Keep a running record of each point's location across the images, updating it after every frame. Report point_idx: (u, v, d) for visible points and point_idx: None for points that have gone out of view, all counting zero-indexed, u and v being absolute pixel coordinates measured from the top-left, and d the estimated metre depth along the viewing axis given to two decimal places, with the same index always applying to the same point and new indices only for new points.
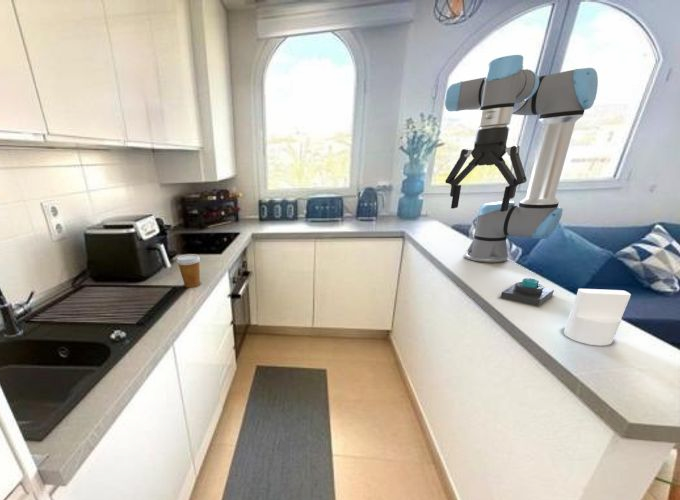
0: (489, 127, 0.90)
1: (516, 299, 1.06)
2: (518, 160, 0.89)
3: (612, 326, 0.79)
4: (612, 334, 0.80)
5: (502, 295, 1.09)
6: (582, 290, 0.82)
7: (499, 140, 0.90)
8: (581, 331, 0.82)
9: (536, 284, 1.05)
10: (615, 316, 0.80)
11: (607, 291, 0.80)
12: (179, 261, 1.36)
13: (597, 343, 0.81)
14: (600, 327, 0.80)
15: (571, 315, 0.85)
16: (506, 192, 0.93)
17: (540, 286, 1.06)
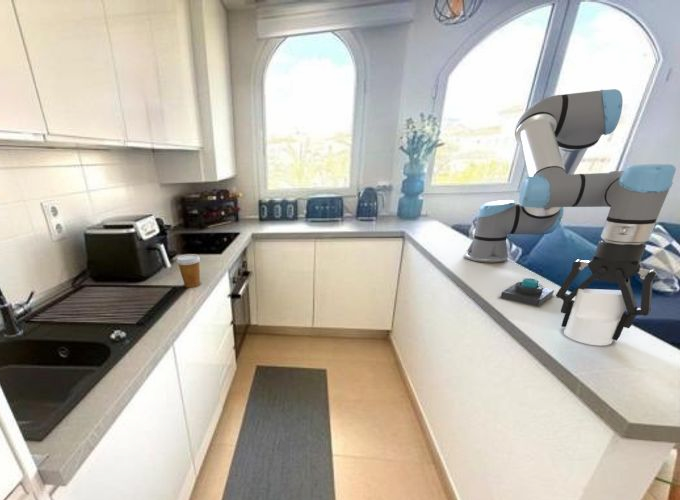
0: (621, 243, 0.74)
1: (516, 299, 1.06)
2: (651, 288, 0.74)
3: (612, 326, 0.79)
4: (612, 334, 0.80)
5: (502, 295, 1.09)
6: (582, 290, 0.82)
7: (634, 259, 0.73)
8: (581, 331, 0.82)
9: (536, 284, 1.05)
10: (615, 316, 0.80)
11: (607, 291, 0.80)
12: (179, 261, 1.36)
13: (597, 343, 0.81)
14: (600, 327, 0.80)
15: (571, 315, 0.85)
16: (623, 321, 0.78)
17: (540, 286, 1.06)
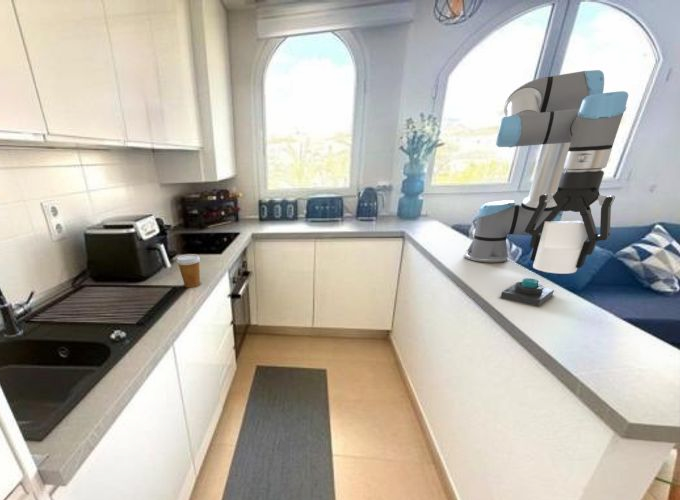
0: (581, 171, 0.79)
1: (516, 299, 1.06)
2: (609, 213, 0.79)
3: (575, 254, 0.84)
4: (575, 262, 0.85)
5: (502, 295, 1.09)
6: (548, 222, 0.87)
7: (592, 186, 0.78)
8: (547, 260, 0.87)
9: (536, 284, 1.05)
10: (579, 245, 0.85)
11: (571, 221, 0.85)
12: (179, 261, 1.36)
13: (562, 271, 0.86)
14: (564, 255, 0.85)
15: (538, 248, 0.90)
16: (584, 248, 0.83)
17: (540, 286, 1.06)
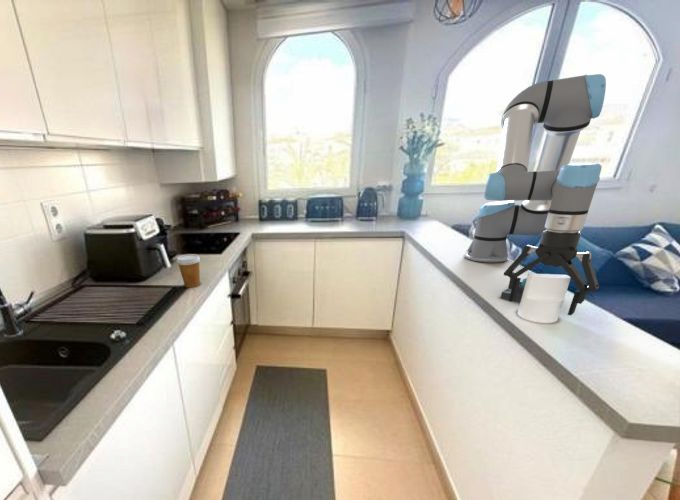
0: (560, 232, 0.85)
1: (516, 299, 1.06)
2: (591, 267, 0.85)
3: (555, 306, 0.91)
4: (556, 313, 0.92)
5: (502, 295, 1.09)
6: (530, 275, 0.93)
7: (570, 246, 0.85)
8: (530, 310, 0.94)
9: None
10: (559, 297, 0.92)
11: (552, 275, 0.92)
12: (179, 261, 1.36)
13: (543, 321, 0.93)
14: (545, 307, 0.91)
15: (522, 297, 0.96)
16: (575, 297, 0.88)
17: None
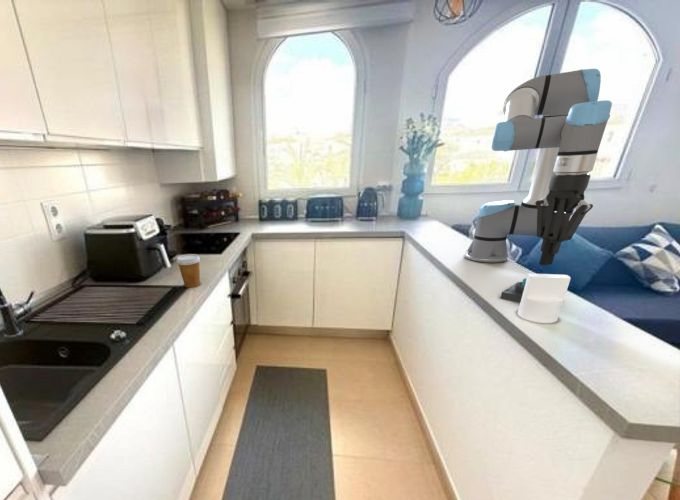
0: (563, 174, 0.85)
1: (516, 299, 1.06)
2: (578, 219, 0.86)
3: (555, 306, 0.91)
4: (556, 313, 0.92)
5: (502, 295, 1.09)
6: (530, 275, 0.93)
7: (573, 188, 0.84)
8: (530, 310, 0.94)
9: None
10: (559, 297, 0.92)
11: (551, 275, 0.92)
12: (179, 261, 1.36)
13: (543, 321, 0.93)
14: (545, 307, 0.91)
15: (522, 297, 0.96)
16: (548, 247, 0.93)
17: None
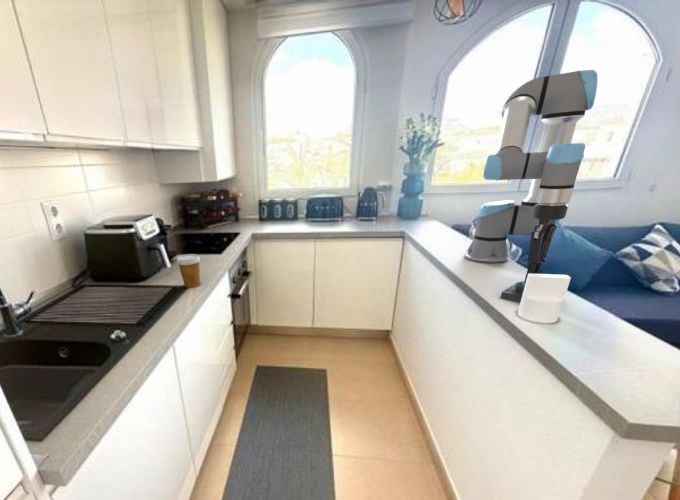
0: None
1: (516, 299, 1.06)
2: (534, 244, 0.99)
3: (555, 306, 0.91)
4: (556, 313, 0.92)
5: (502, 295, 1.09)
6: (530, 275, 0.93)
7: (535, 216, 0.98)
8: (530, 310, 0.94)
9: None
10: (559, 297, 0.92)
11: (552, 275, 0.92)
12: (179, 261, 1.36)
13: (543, 321, 0.93)
14: (545, 307, 0.91)
15: (522, 297, 0.96)
16: None
17: None
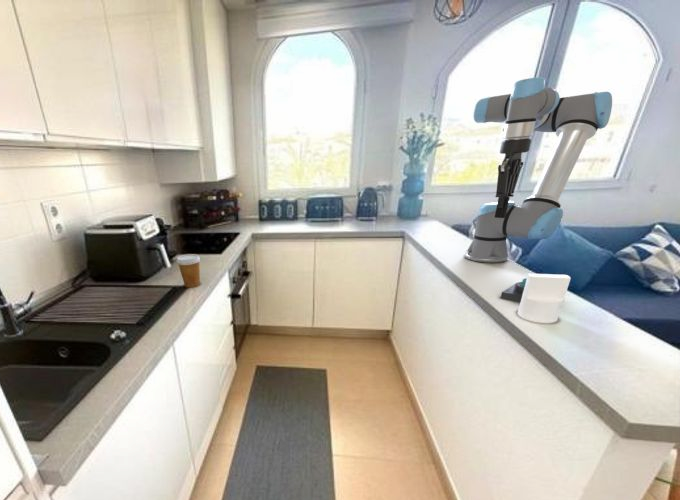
0: None
1: (516, 299, 1.06)
2: (501, 177, 1.07)
3: (555, 306, 0.91)
4: (556, 313, 0.92)
5: (502, 295, 1.09)
6: (530, 275, 0.93)
7: (502, 151, 1.06)
8: (530, 310, 0.94)
9: None
10: (559, 297, 0.92)
11: (551, 275, 0.92)
12: (179, 261, 1.36)
13: (543, 321, 0.93)
14: (545, 307, 0.91)
15: (522, 297, 0.96)
16: None
17: None
